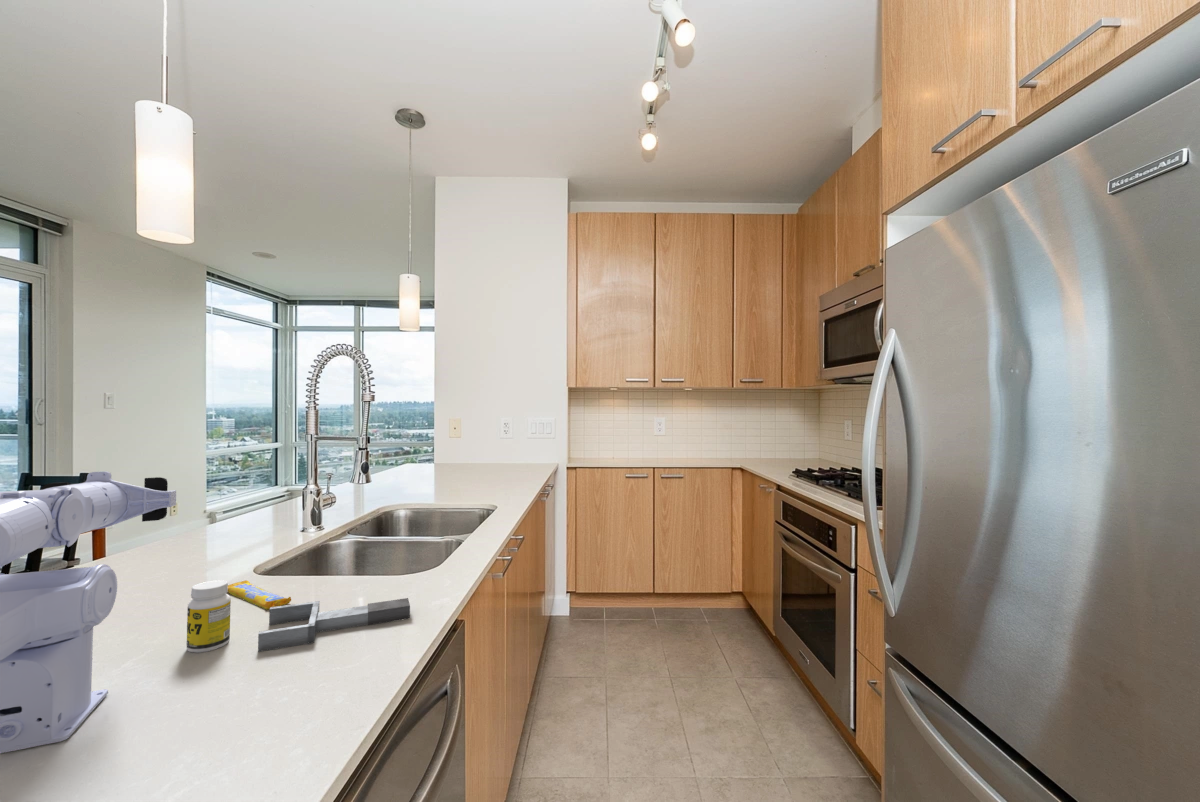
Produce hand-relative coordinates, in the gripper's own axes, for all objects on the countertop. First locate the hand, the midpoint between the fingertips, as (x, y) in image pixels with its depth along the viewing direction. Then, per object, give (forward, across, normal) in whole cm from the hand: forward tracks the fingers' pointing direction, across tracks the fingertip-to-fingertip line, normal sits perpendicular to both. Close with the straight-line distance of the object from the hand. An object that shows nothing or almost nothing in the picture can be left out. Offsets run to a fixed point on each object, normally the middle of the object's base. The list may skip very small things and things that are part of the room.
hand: (129, 496), depth 71 cm
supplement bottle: (-4, -10, +21) cm, 24 cm away
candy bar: (+15, -13, +20) cm, 28 cm away
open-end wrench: (-4, -26, +21) cm, 34 cm away
